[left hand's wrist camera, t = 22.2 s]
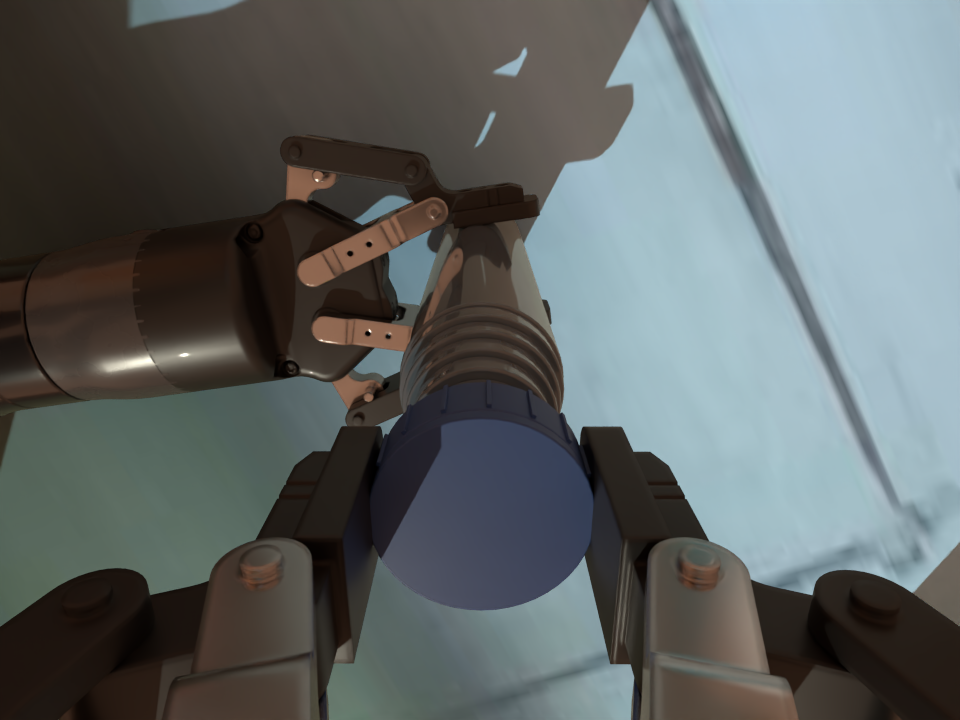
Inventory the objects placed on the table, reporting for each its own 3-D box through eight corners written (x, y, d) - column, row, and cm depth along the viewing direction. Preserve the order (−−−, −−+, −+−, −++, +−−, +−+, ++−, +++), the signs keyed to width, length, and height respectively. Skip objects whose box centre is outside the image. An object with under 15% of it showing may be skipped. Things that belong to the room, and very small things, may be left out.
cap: (618, 505, 13) (636, 555, 11) (446, 586, 13) (442, 643, 12) (521, 341, 11) (527, 373, 10) (337, 440, 12) (318, 484, 11)
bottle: (493, 185, 34) (520, 344, 10) (535, 252, 35) (642, 528, 12) (428, 229, 35) (314, 468, 11) (470, 292, 36) (448, 626, 13)
